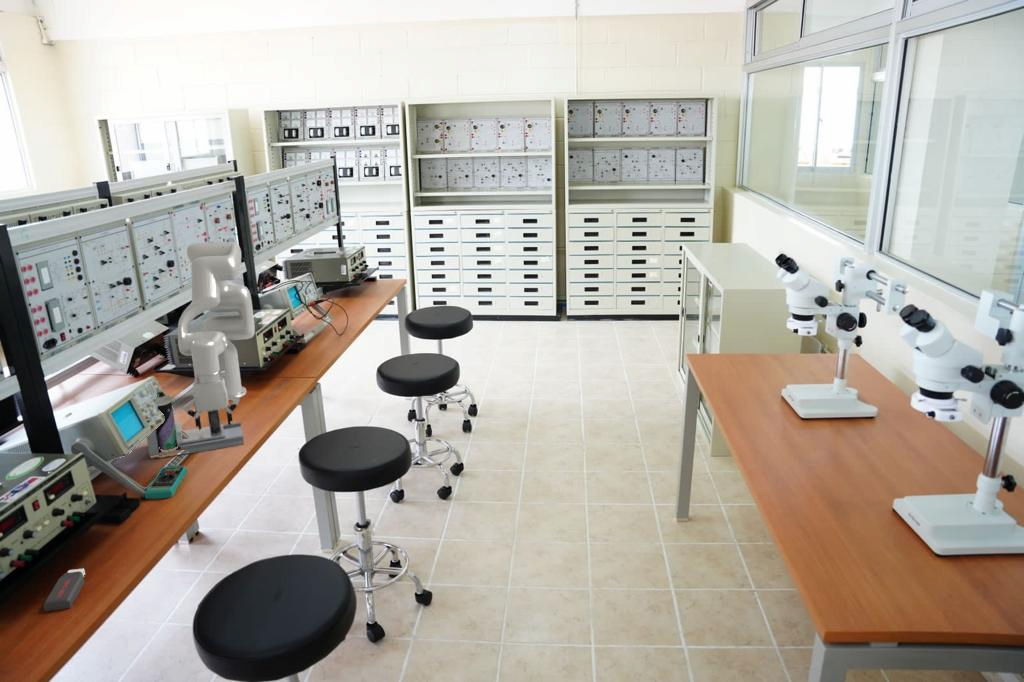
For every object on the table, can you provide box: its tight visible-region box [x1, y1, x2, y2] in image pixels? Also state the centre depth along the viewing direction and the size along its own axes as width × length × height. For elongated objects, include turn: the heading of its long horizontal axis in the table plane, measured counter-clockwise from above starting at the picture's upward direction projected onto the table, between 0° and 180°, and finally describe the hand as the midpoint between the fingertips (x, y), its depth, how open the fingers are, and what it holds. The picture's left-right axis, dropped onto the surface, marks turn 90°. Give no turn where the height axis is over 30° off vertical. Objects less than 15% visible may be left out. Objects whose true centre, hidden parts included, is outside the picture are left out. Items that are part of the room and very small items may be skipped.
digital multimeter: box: [144, 465, 188, 500], centre depth 200 cm, size 7×15×3 cm, turn 8°
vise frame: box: [146, 421, 245, 458], centre depth 223 cm, size 12×28×8 cm, turn 115°
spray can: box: [155, 390, 178, 450], centre depth 217 cm, size 6×6×20 cm
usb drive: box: [43, 568, 86, 612], centre depth 156 cm, size 5×12×3 cm, turn 13°
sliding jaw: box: [175, 410, 225, 449], centre depth 223 cm, size 8×14×9 cm, turn 115°
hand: (214, 425), depth 225 cm, fingers open, 8 cm apart
